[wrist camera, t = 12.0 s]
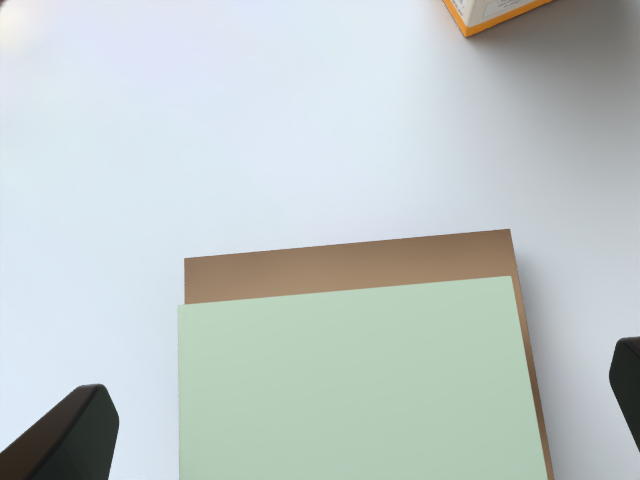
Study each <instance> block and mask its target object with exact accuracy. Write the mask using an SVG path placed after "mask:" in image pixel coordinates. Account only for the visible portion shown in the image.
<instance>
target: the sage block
mask: <svg viewBox="0 0 640 480" xmlns="http://www.w3.org/2000/svg"><path fill="white" fill-rule="evenodd" d="M178 382H179V480H548V478H547V473H546V467H545V461H544V456H543V450H542V445H541V439H540V434H539V428H538V422H537V417H536V411H535V406H534V400H533V395H532V389H531V384H530V378H529V372H528V367H527V361H526V356H525V350H524V345H523V339H522V333H521V328H520V322H519V317H518V311H517V306H516V300H515V294H514V289H513V283H512V278H511V276H501V277H490V278H479V279H468V280H456V281H445V282H434V283H423V284H411V285H400V286H389V287H378V288H366V289H355V290H344V291H333V292H322V293H310V294H299V295H288V296H277V297H265V298H254V299H243V300H232V301H220V302H209V303H198V304H187V305H178Z"/></svg>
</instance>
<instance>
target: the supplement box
mask: <svg viewBox="0 0 640 480" xmlns="http://www.w3.org/2000/svg"><path fill="white" fill-rule="evenodd" d="M551 1H553V0H443V2H444V3H445V4H446V6H447V9H448V10H449V11H450V13H451V15H452V17H453V18H454V19H455V22H456V23H457V25H458V26H459V28H460V30H461V31H462V33H463V35H464V36H465V37H468V36H471V35H473V34H476V33H478V32H481V31H483V30H485V29H486V28H490V27H492V26H494V25H496V24H499V23H501V22H504V21H506V20H509V19H511V18H513V17H515V16H518V15H520V14H522V13H525V12H527V11H529V10H531V9H534V8H536V7H539V6H541V5H543V4H545V3H548V2H551Z"/></svg>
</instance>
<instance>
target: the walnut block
mask: <svg viewBox="0 0 640 480" xmlns="http://www.w3.org/2000/svg"><path fill="white" fill-rule="evenodd" d="M184 269H185V305H187V304H198V303H209V302H220V301H232V300H243V299H254V298H265V297H277V296H288V295H299V294H310V293H322V292H333V291H344V290H355V289H366V288H378V287H389V286H400V285H411V284H423V283H434V282H445V281H456V280H468V279H479V278H490V277H501V276H511V278H512V283H513V289H514V294H515V300H516V306H517V311H518V317H519V322H520V328H521V333H522V339H523V345H524V350H525V356H526V361H527V367H528V372H529V378H530V384H531V389H532V395H533V400H534V406H535V411H536V417H537V422H538V428H539V434H540V439H541V445H542V450H543V456H544V461H545V467H546V473H547V478H548V480H554V475H553V469H552V463H551V458H550V452H549V446H548V441H547V435H546V430H545V424H544V418H543V413H542V407H541V401H540V396H539V390H538V384H537V379H536V373H535V368H534V362H533V356H532V351H531V345H530V339H529V334H528V328H527V322H526V317H525V311H524V306H523V300H522V294H521V289H520V283H519V277H518V272H517V266H516V260H515V255H514V249H513V243H512V238H511V232H510V229H503V230H492V231H481V232H470V233H459V234H448V235H437V236H425V237H414V238H403V239H392V240H381V241H370V242H359V243H348V244H337V245H326V246H315V247H304V248H293V249H282V250H271V251H260V252H249V253H238V254H227V255H216V256H204V257H193V258H184Z"/></svg>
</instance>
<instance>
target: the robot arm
mask: <svg viewBox="0 0 640 480" xmlns="http://www.w3.org/2000/svg"><path fill="white" fill-rule="evenodd" d="M609 380H610V385H611V387H612V390H613V392H614V394H615V397H616V399H617V401H618V404H619V406H620V408H621V411H622V413H623V415H624V417H625V420H626V422H627V424H628V427H629V429H630V431H631V434H632V436H633V438H634V440H635V443H636V445H637V447H638V450H639V452H640V336H639V337H628V338H622V339H620V340H619V341H618V342H617V344H616V347H615V351H614V355H613V359H612V363H611V367H610V371H609ZM118 429H119V416H118V413H117V411H116V408H115V406H114V404H113V402H112V400H111V397H110V395H109V393H108V391H107V389H106V387H105V386H104V385H102V384H90V385H82V386H79V387H77V388H76V389H74V390H73V391H72V392H71V393H70V394H69V395H67V396H66V397H65V398H64V399H63V400H62V401H60V402H59V403H58V404H57V405H56V406H55V407H53V408H52V409H51V410H50V411H49V412H48V413H46V414H45V415H44V416H43V417H42V418H41V419H39V420H38V421H37V422H36V423H35V424H34V425H32V426H31V427H30V428H29V429H28V430H27V431H25V432H24V433H23V434H22V435H21V436H20V437H18V438H17V439H16V440H15V441H14V442H13V443H11V444H10V445H9V446H8V447H7V448H6V449H4V450H3V451H2V452H1V453H0V480H108V477H109V473H110V468H111V463H112V458H113V453H114V448H115V444H116V439H117V434H118Z"/></svg>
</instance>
